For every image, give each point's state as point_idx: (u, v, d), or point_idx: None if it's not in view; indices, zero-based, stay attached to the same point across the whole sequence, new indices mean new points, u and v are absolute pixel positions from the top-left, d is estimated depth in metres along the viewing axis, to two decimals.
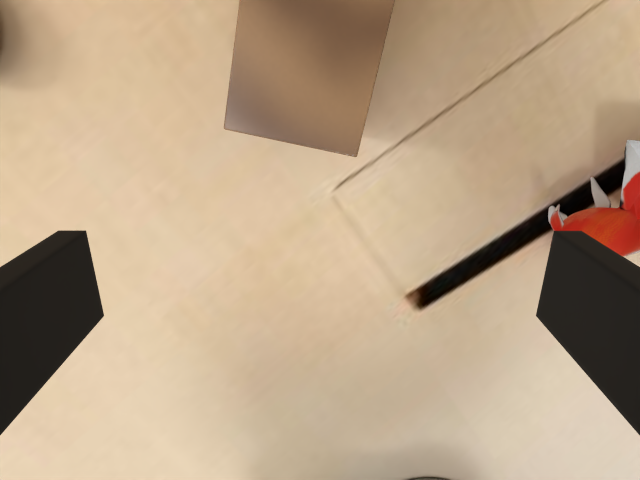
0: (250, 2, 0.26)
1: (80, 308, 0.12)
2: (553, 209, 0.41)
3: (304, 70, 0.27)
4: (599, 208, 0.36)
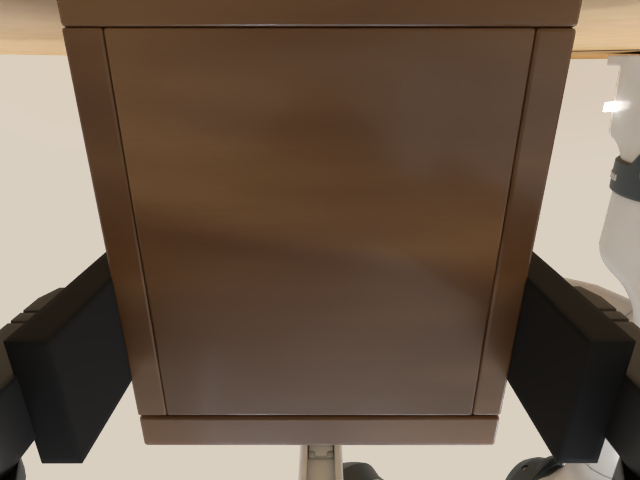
0: None
1: None
2: None
3: None
4: None
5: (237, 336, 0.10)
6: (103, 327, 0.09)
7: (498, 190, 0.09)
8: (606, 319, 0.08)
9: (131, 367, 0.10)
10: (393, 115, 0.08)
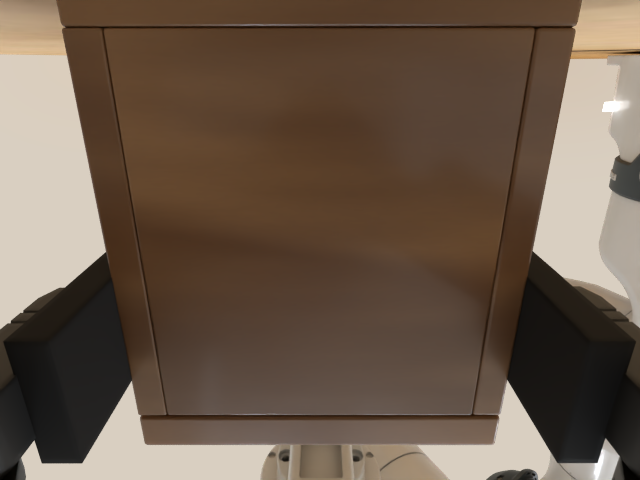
0: None
1: None
2: None
3: None
4: None
5: (237, 336, 0.10)
6: (103, 327, 0.09)
7: (498, 190, 0.09)
8: (607, 319, 0.08)
9: (130, 367, 0.10)
10: (393, 115, 0.08)
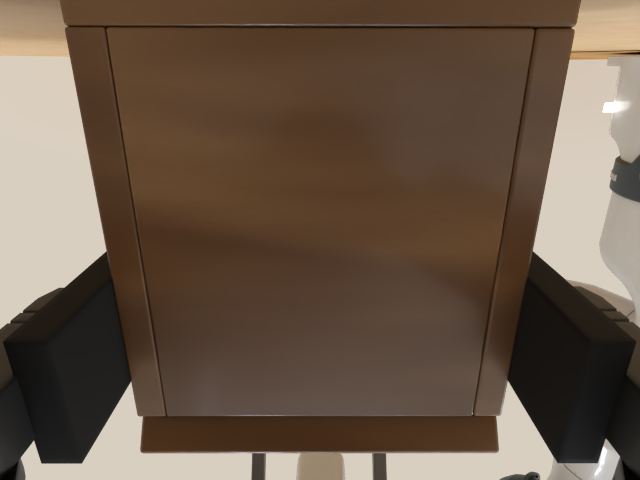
0: None
1: None
2: None
3: None
4: None
5: (238, 336, 0.10)
6: (103, 327, 0.09)
7: (499, 189, 0.09)
8: (608, 319, 0.08)
9: (130, 367, 0.10)
10: (394, 114, 0.08)
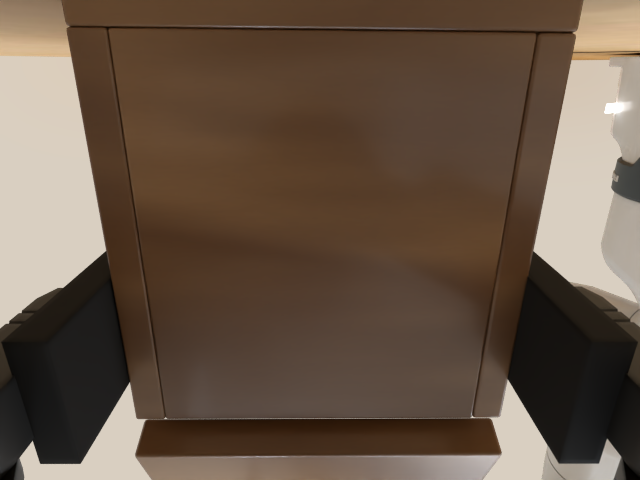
0: None
1: None
2: None
3: None
4: None
5: (238, 338, 0.10)
6: (101, 327, 0.09)
7: (500, 192, 0.09)
8: (609, 319, 0.08)
9: (129, 369, 0.10)
10: (396, 117, 0.08)
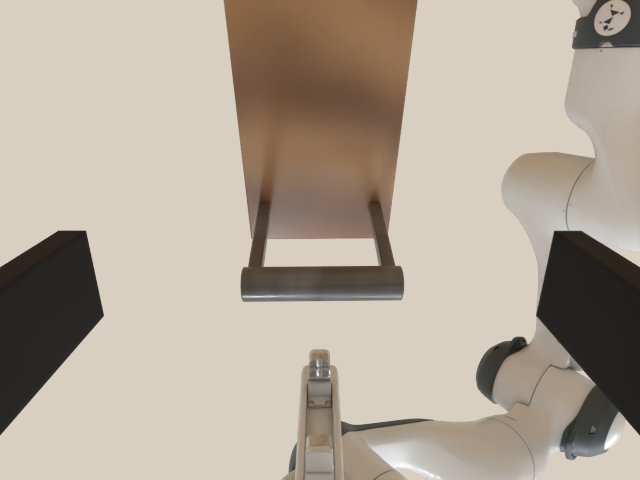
0: (394, 85, 0.22)
1: (80, 308, 0.12)
2: None
3: (320, 20, 0.20)
4: None
5: None
6: None
7: None
8: None
9: None
10: None
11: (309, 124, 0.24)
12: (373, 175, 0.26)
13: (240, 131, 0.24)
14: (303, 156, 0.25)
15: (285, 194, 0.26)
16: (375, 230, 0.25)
